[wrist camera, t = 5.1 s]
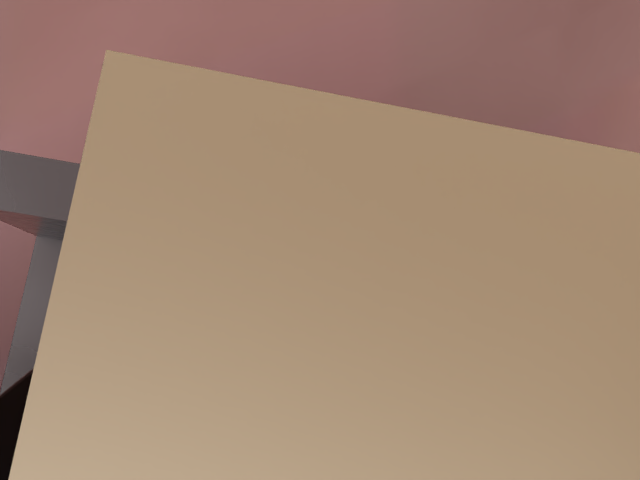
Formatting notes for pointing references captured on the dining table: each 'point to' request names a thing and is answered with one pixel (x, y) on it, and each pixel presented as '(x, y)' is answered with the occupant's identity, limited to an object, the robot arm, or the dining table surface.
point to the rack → (49, 226)
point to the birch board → (333, 294)
